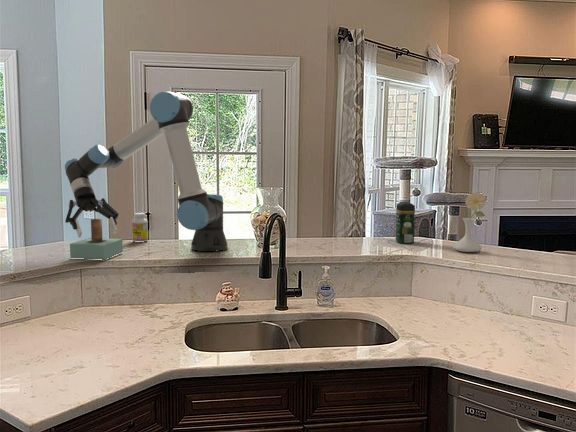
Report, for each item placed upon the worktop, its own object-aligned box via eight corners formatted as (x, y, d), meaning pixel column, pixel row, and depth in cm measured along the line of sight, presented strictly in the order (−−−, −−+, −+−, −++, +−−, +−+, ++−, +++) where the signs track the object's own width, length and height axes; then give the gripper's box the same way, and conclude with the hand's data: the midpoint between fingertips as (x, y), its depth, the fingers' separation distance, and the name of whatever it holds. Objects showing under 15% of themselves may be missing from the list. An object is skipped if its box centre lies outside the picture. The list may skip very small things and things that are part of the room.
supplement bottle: (129, 242, 243) (128, 213, 241) (140, 240, 249) (139, 212, 247) (140, 243, 240) (140, 214, 238) (151, 241, 246) (150, 213, 244)
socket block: (122, 253, 216) (122, 239, 215) (104, 261, 202) (104, 245, 202) (90, 252, 219) (90, 237, 218) (70, 259, 205) (69, 243, 204)
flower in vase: (447, 251, 227) (450, 191, 224) (462, 248, 234) (465, 190, 231) (475, 255, 217) (479, 193, 214) (490, 252, 224) (494, 192, 221)
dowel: (104, 254, 212) (103, 219, 210) (99, 256, 208) (98, 220, 206) (95, 253, 213) (94, 218, 211) (89, 256, 209) (88, 220, 207)
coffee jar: (393, 240, 252) (395, 200, 250) (410, 240, 252) (412, 200, 250) (397, 244, 242) (399, 202, 240) (415, 244, 242) (417, 203, 240)
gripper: (111, 196, 228) (126, 236, 218) (48, 199, 212) (62, 242, 202) (115, 184, 223) (132, 224, 213) (52, 186, 207) (66, 230, 198)
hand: (98, 233), depth 208 cm, fingers open, 13 cm apart
